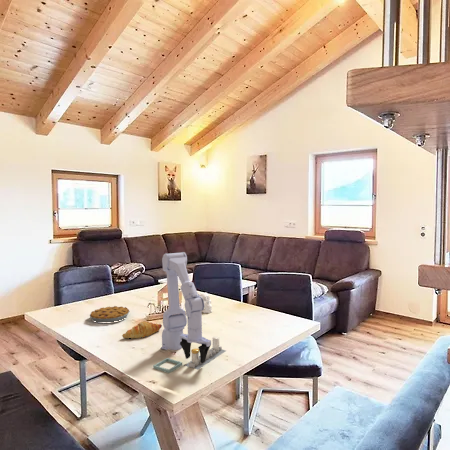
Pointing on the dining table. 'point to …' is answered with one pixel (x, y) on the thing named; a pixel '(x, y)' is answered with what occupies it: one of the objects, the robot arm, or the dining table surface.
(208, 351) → the fuse middle
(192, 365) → the fuse panel
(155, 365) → the tray
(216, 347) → the fuse far
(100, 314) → the pie
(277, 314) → the dining table surface
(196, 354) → the cylinder
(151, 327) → the croissant
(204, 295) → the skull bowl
